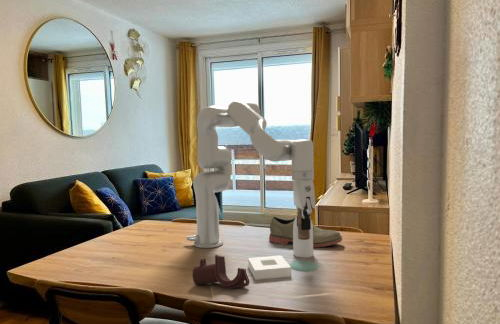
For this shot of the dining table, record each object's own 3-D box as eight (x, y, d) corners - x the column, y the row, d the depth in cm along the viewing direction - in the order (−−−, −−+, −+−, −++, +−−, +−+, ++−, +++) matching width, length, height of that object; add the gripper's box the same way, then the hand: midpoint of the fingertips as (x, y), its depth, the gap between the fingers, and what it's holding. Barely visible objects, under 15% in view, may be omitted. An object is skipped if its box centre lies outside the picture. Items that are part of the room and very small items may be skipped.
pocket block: (255, 281, 112) (254, 270, 112) (248, 267, 124) (248, 258, 124) (291, 277, 114) (291, 267, 114) (281, 264, 126) (281, 255, 126)
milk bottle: (313, 259, 132) (312, 206, 130) (292, 258, 133) (291, 206, 132) (313, 252, 139) (313, 202, 138) (294, 251, 141) (293, 202, 139)
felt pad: (294, 273, 118) (294, 272, 118) (285, 263, 128) (285, 261, 128) (322, 271, 120) (322, 269, 120) (312, 261, 129) (312, 259, 129)
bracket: (246, 285, 102) (242, 250, 106) (192, 292, 107) (191, 258, 110) (252, 285, 108) (248, 252, 112) (201, 292, 112) (199, 260, 116)
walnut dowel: (300, 240, 120) (299, 208, 120) (296, 237, 124) (296, 206, 124) (311, 239, 121) (310, 207, 121) (307, 236, 125) (306, 205, 124)
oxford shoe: (342, 250, 142) (342, 221, 141) (265, 245, 151) (265, 218, 150) (342, 242, 153) (342, 215, 152) (271, 238, 162) (271, 212, 161)
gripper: (322, 177, 114) (323, 233, 115) (305, 173, 130) (305, 222, 131) (300, 178, 113) (301, 234, 114) (285, 174, 129) (286, 223, 130)
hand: (303, 227), depth 123 cm, fingers closed on walnut dowel, 4 cm apart
